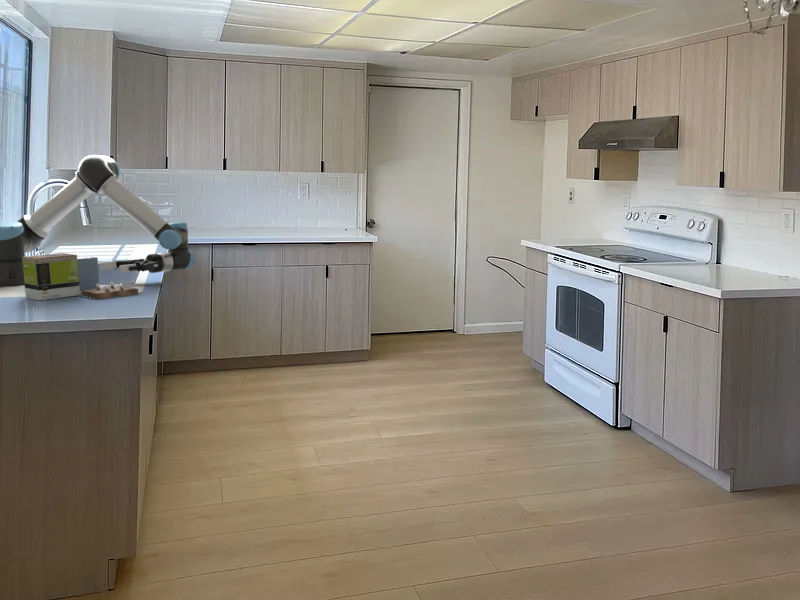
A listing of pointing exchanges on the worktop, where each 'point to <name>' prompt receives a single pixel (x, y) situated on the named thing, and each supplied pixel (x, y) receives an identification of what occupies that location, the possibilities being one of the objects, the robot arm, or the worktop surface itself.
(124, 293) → the dock
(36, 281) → the tea box
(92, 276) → the block
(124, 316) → the worktop surface
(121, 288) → the dock pins
